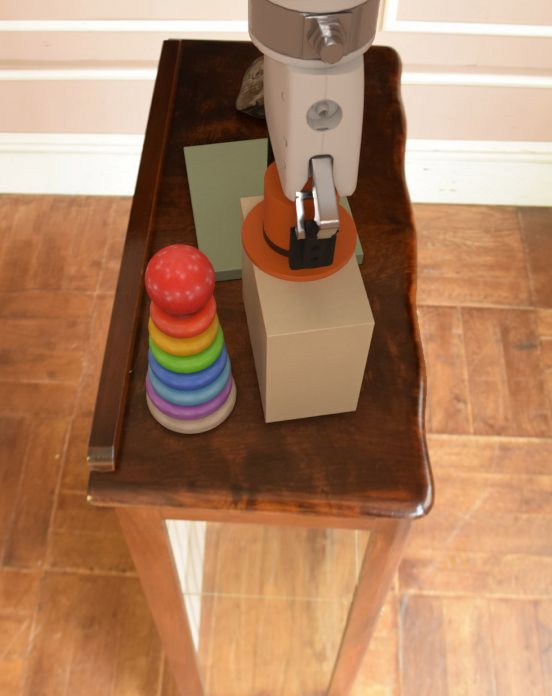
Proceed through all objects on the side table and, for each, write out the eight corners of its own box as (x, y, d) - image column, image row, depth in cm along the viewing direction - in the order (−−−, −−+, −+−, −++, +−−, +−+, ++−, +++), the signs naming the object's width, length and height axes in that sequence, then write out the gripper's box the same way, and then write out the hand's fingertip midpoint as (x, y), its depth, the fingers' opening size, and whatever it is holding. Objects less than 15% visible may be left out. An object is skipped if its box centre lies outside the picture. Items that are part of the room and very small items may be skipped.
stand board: (326, 141, 87) (327, 131, 86) (362, 263, 78) (363, 254, 76) (184, 157, 86) (183, 146, 85) (203, 283, 76) (202, 273, 75)
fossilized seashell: (251, 125, 85) (331, 114, 88) (246, 59, 82) (329, 50, 85) (225, 119, 91) (301, 109, 94) (220, 58, 88) (298, 50, 92)
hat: (343, 190, 64) (350, 130, 58) (367, 274, 59) (378, 217, 54) (234, 202, 63) (232, 143, 58) (250, 288, 58) (250, 232, 53)
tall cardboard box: (326, 292, 76) (338, 186, 64) (357, 416, 68) (378, 322, 57) (242, 302, 75) (239, 197, 63) (265, 428, 68) (266, 336, 56)
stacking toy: (228, 443, 67) (219, 313, 51) (138, 431, 68) (101, 298, 52) (243, 367, 71) (239, 225, 55) (158, 356, 72) (130, 212, 56)
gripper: (416, 97, 40) (372, 300, 55) (345, -81, 49) (324, 134, 64) (273, 111, 40) (267, 312, 54) (228, -71, 49) (234, 144, 63)
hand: (298, 216), depth 59 cm, fingers open, 9 cm apart
